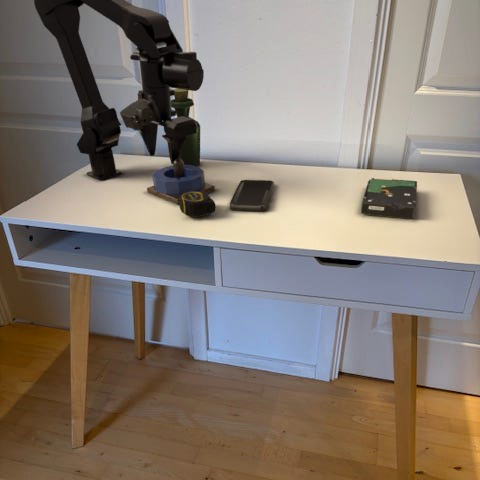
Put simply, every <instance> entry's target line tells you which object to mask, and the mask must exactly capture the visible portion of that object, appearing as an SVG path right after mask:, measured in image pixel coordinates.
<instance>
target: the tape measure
mask: <svg viewBox="0 0 480 480" xmlns="http://www.w3.org/2000/svg"><path fill="white" fill-rule="evenodd" d="M178 206H179V210H180V211H181V213H182V214H183V215H185V216H187V217H193V218H194V217H195V218H199V217H203V216H206V215H209V214H213V213H215V212H216V210H217V205H216V202H215V201H214V199H213V198H211V197H210V195H209V193H207V192H206V191H200V192H188V193H185V194H183V195H182V196H181V197H180V200H179V205H178Z"/></svg>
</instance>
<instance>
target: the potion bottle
mask: <svg viewBox="0 0 480 480" xmlns="http://www.w3.org/2000/svg"><path fill="white" fill-rule="evenodd" d="M173 90H174V93H175V95H173V97H174V98H173V99H171V108H172V109H173V110H175V111H176V118H177V117H181V116H184V117H187V118H191V119H193V120H194V121H195V122H196V123H197V133H195V134H191V135H189V136H187V138H186V140H185V142H184V144H183V147H182V149H181V152H180V154H179V157H178V159H181V160H182V161H183V162H184V165H193V166H197V167H200V165H201V124H200V123H199V121H197V120H196V119H194V118H192V117H191V116H190V111H191V108H192V107H194V106H195V103H194V100H193V99H192V98H190V97H189V90H184V89H177V88H173Z"/></svg>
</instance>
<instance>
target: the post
mask: <svg viewBox="0 0 480 480" xmlns="http://www.w3.org/2000/svg"><path fill="white" fill-rule="evenodd" d="M172 166H173V169H174V178H182V177H185V170H184V162H183V161H182V160H181V159H175V160H174V162H173V164H172ZM200 191H206V192H207V194H210V193H213V192H215V191H216V185H214V184H211V183H209V182H206V181H205V185H204V186H203V188H202V189H201V190H198V191H196V192H200ZM146 192H147V194H150V195H152V196H155V197H157V198H159V199H162V200H165V201H167V202H170V203H173V204H175V205H177V206H179V200H180V197H181V196H182V195H166V194H162V193H159V192H157V191H156V190H155V188H154V185H151V186H147V187H146Z"/></svg>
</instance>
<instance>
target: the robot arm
mask: <svg viewBox="0 0 480 480" xmlns="http://www.w3.org/2000/svg"><path fill="white" fill-rule="evenodd" d="M33 2H34V3H33V4H34V8H35V10H36V13H37V14H38V17H39V19H40V21H41V23H42V25H43V26H44V28H46V29H47V30H48V32H49V33H50V34H51V35H52V36H53V37H54V38H55V40H56V41H57V44H58V47H59V50H60V52H61V54H62V58H63V60H64V63H65V66H66V68H67V71H68V74H69V76H70V79H71V82H72V85H73V87H74V90H75V92H76V96H77V98H78V100H79V103H80V106H81V115H80V126H81V129H82V134H81V136H80V138H79V139H78V141H77V143H76V147H77V148H78V150H79V151H78V152H79V153H80V154H84V155H88V159H89V165H90V170H89V171H87V172H86V175H87V176H89V177H91V178H94V179H96V180H99V181H102V180H105V179H108V178H111V177H115V176H118V175H122V174H123V172H122V170H119V169H117V168H116V161H115V157H114V152H113V148H115V147H118V146H119V143H120V135H122V130H121V126H122V123H121V122H120V120H119V118H118V113H117V110H116V108H115V107H111V108H110V107H109V106H108V105H107V104H106V103H105V102H104V101H103V98H102V96H101V92H100V89H99V87H98V86H99V85H98V84H97V81H96V78H95V75H94V71H93V69H92V67H91V64H90V61H89V58H88V55H87V52H86V49H85V47H84V43H83V41H82V38H81V35H80V25H81V14H80V13H81V12H80V8H81V7H82V6H84V5H86V6H87V7H89V8H90V9H92V10H93V11H95V12H97V13H98V14H100V15H101V16H103V17H104V18H106V19H108V20H109V21H110V22H112V23H114V24H115V25H117V26H118V27H119V28H120V29H121V30H122V31H123V33H124V35H125V37H126V39H128V40H129V42H131V43H132V44H133V45H134V46H135V47H136V48H135V50H134V52H132V54H131V55H130V56H129V57H130V60H131V61H139V69H140V78H141V79H140V80H141V88H142V89H140V90H138V92H137V100H135V101H134V102H133V101H132V103H130V104H128V105H127V106H126V107H125V108H123V109H121V111H120V112H119V115H120V118H121V119H122V121H123V123H124V126H125V128H127V129H132V130H133V131H137V132H139V134H140V136H141V138H142V140H143V143H144V145H145V148H146V150H147V153H148V154H149V156H150V157H154V156H155V155H156V149H157V142H158V141H157V138H158V129H159V126H161V127H163V132H164V133H165V134H162V135H161V137H162V138H163V139H164V140H165V141H166V142H167V149H168V155H169V161H170V164H171V165H173V162H174V160H175V159H178V157H179V154H180V152H181V149H182V147H183V144H184V142H185V140H186V138H187V136H189V135H191V134H195V133H197V123H196V122H195V121H194V120H195V119H194V118H192V117H190V118H187V117H184V116H181V117H177V115H176V111H175V109H173V108H172V107H171V100H172V98H171V97H172V96H173V97H174V95H175V93H174V89H184V90H188V91H190V92H191V91H192V92H197V91H199V90H200V89H201V87H202V85H203V83H204V77H205V76H204V74H205V73H204V72H205V71H204V68H203V65H202V63H201V61H200V60H199V59H198V56H197V55H198V54H197V52H196V51H184V49H183V47H182V46H181V44H180V42H179V41H178V39H177V37H176V36H175V34H174V32H173V29H171V26H170V22H169V21H170V20H168V17H166V16H165V15H164V14H162V13H159V12H157V11H154V10H151V9H149V8H143V7H139V6H136V5H133V4H132V3H130V2H129V1H127V0H33ZM173 117H174V118H173ZM191 118H192V119H191ZM193 119H194V120H193Z"/></svg>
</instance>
